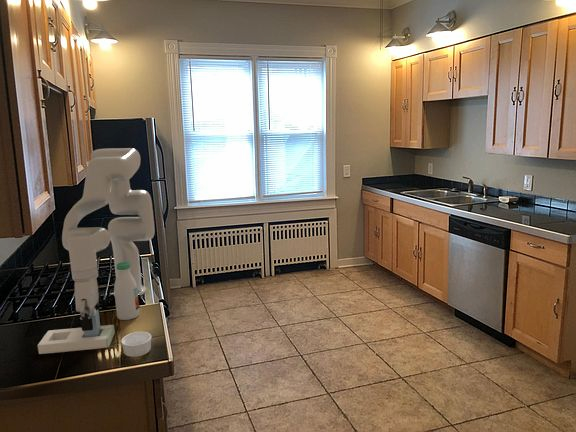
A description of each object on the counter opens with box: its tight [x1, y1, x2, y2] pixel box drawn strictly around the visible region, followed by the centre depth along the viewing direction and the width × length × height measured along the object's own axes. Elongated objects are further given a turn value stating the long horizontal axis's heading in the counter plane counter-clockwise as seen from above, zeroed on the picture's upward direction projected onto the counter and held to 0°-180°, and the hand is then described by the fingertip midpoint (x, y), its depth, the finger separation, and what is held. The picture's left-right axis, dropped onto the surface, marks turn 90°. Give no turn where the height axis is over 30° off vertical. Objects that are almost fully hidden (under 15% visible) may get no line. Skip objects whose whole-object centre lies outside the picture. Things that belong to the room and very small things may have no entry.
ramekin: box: [121, 331, 152, 358], centre depth 146 cm, size 9×9×4 cm
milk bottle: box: [113, 262, 140, 321], centre depth 169 cm, size 8×8×20 cm
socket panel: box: [37, 324, 115, 355], centre depth 152 cm, size 10×21×3 cm, turn 99°
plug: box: [84, 308, 101, 338], centre depth 152 cm, size 4×4×11 cm
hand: (91, 323), depth 151 cm, fingers open, 9 cm apart
